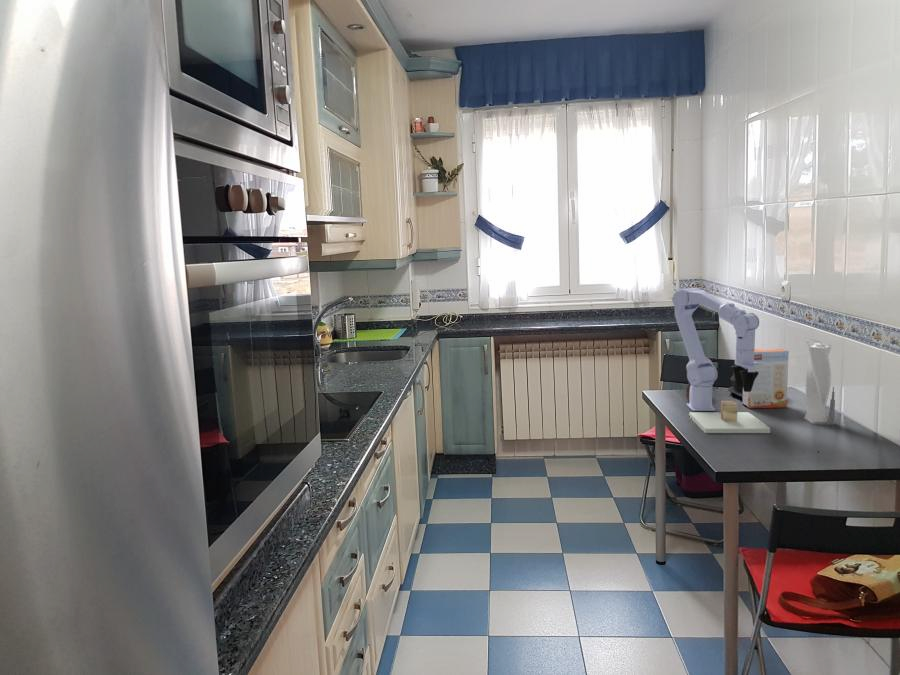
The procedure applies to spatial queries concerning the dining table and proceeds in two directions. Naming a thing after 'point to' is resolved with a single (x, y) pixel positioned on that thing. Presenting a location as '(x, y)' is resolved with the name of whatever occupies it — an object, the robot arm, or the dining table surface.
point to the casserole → (735, 388)
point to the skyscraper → (818, 385)
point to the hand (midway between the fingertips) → (743, 389)
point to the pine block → (729, 411)
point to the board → (728, 423)
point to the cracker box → (769, 380)
